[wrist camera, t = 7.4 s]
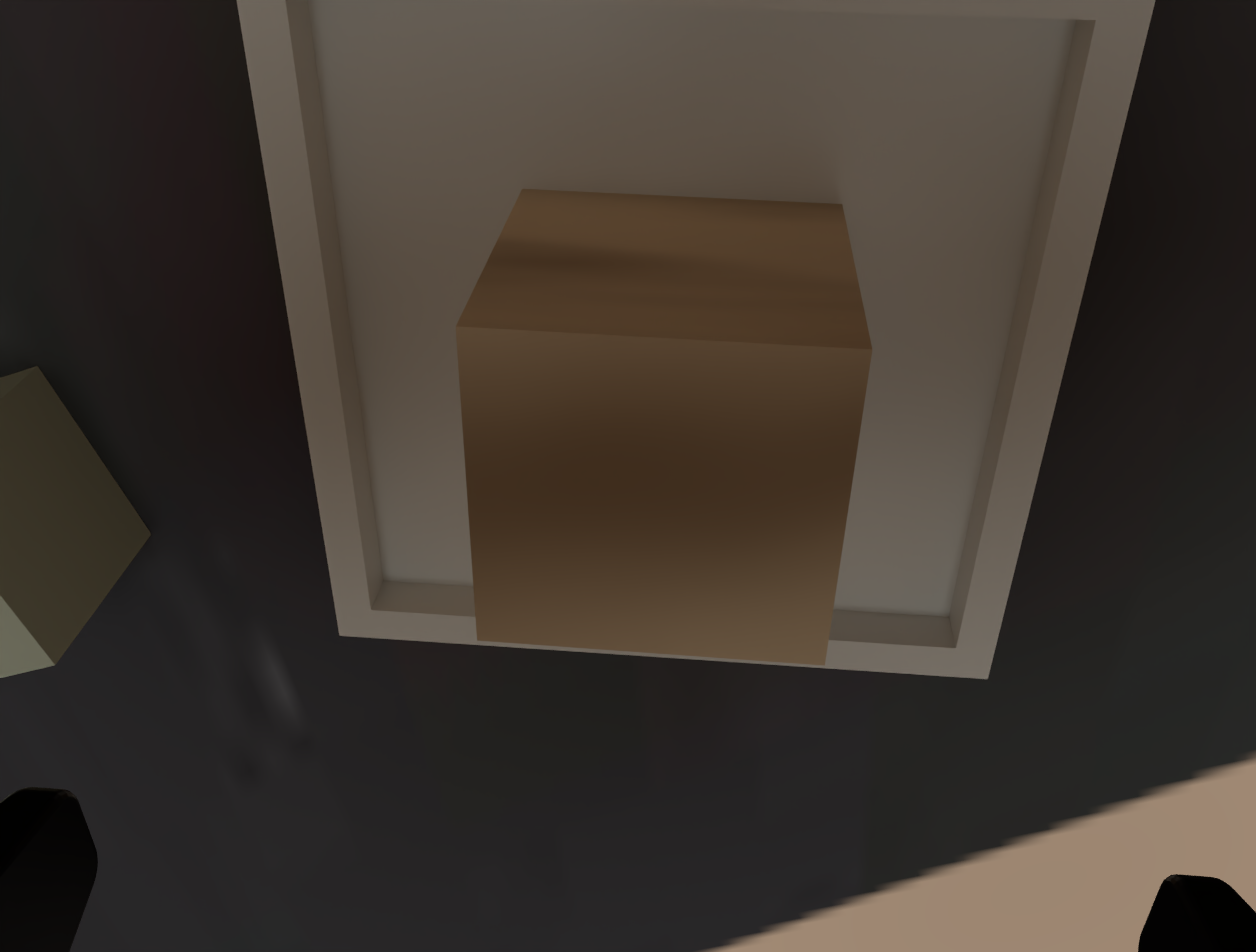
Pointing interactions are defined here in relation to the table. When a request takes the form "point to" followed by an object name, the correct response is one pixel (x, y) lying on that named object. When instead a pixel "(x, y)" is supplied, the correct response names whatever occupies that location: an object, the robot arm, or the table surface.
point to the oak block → (662, 424)
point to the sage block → (53, 526)
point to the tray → (711, 168)
